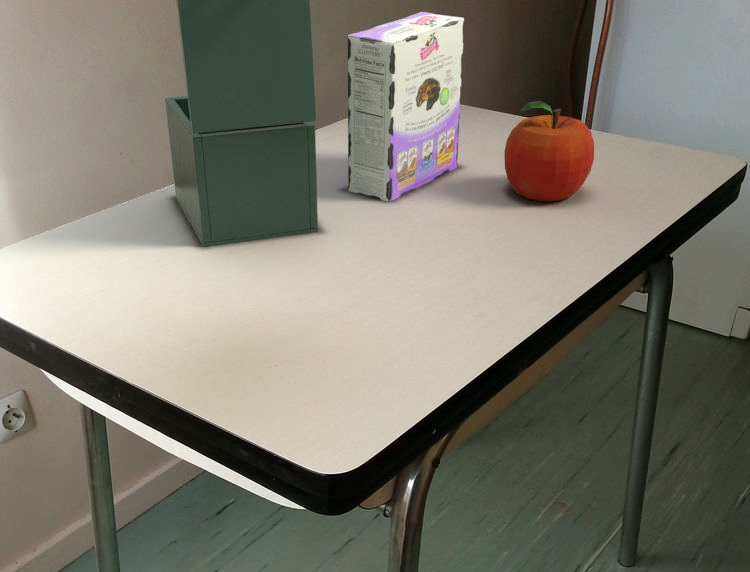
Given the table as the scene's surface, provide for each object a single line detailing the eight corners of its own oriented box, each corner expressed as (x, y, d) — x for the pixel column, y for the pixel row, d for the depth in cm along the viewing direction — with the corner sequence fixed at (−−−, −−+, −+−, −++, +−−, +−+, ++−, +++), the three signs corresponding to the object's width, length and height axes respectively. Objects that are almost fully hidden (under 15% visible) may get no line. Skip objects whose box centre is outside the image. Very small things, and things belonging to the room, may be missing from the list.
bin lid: (170, -45, 84) (182, -42, 80) (304, -52, 87) (321, -49, 83) (191, 131, 91) (202, 142, 87) (313, 119, 94) (330, 129, 90)
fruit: (597, 212, 106) (611, 114, 100) (507, 212, 106) (515, 115, 100) (579, 180, 114) (591, 88, 108) (495, 181, 114) (502, 88, 108)
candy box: (416, 161, 119) (421, 9, 109) (458, 171, 116) (467, 16, 106) (345, 194, 110) (344, 32, 100) (389, 206, 107) (392, 40, 97)
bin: (176, 202, 108) (164, 97, 101) (281, 190, 111) (276, 87, 104) (204, 251, 97) (192, 137, 91) (318, 235, 101) (315, 125, 94)
